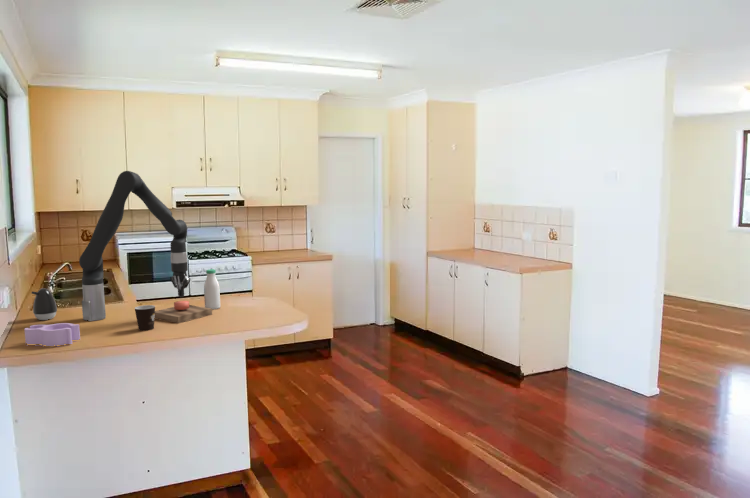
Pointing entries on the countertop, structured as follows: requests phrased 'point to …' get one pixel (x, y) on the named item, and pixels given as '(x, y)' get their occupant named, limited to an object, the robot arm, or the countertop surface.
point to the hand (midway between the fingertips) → (181, 296)
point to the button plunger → (181, 305)
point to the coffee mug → (145, 317)
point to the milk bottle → (211, 290)
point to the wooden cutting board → (182, 314)
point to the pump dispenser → (44, 305)
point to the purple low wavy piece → (52, 334)
